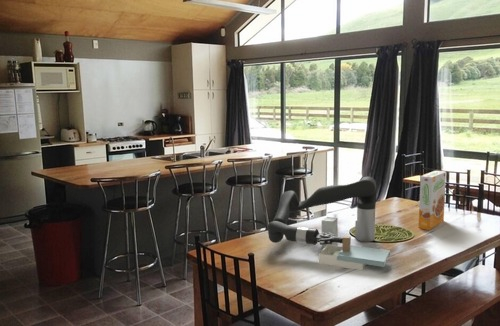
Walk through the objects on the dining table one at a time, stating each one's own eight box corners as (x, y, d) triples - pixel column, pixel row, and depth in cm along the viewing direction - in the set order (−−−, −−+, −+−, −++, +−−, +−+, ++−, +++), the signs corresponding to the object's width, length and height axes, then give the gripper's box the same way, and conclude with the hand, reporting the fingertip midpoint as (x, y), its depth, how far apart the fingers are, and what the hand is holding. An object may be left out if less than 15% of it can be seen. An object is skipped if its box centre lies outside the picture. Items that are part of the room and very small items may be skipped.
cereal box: (429, 229, 254) (431, 177, 249) (418, 227, 258) (420, 176, 254) (443, 220, 271) (446, 171, 266) (432, 219, 275) (435, 170, 270)
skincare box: (332, 250, 224) (332, 221, 221) (320, 248, 227) (321, 220, 224) (337, 245, 231) (338, 217, 228) (326, 243, 234) (326, 216, 231)
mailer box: (318, 263, 207) (318, 254, 207) (327, 253, 220) (327, 244, 219) (362, 270, 199) (362, 260, 198) (368, 259, 211) (369, 250, 211)
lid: (337, 259, 202) (337, 241, 201) (345, 248, 216) (345, 231, 215) (384, 266, 194) (384, 247, 192) (389, 254, 208) (390, 236, 206)
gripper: (302, 232, 209) (339, 236, 202) (311, 224, 221) (346, 228, 213) (302, 247, 210) (339, 253, 203) (311, 239, 222) (346, 243, 215)
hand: (343, 240), depth 208 cm, fingers closed
